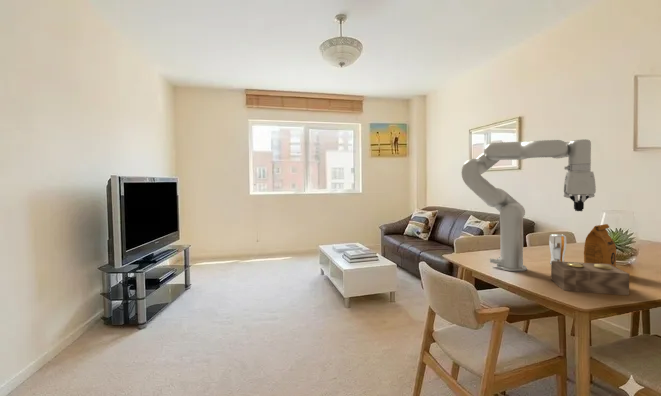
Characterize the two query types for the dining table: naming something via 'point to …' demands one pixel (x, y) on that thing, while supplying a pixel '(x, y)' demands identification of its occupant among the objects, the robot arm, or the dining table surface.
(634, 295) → the dining table surface
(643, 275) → the dining table surface
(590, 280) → the walnut block
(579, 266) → the brass peg
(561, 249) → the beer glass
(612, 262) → the coffee package
